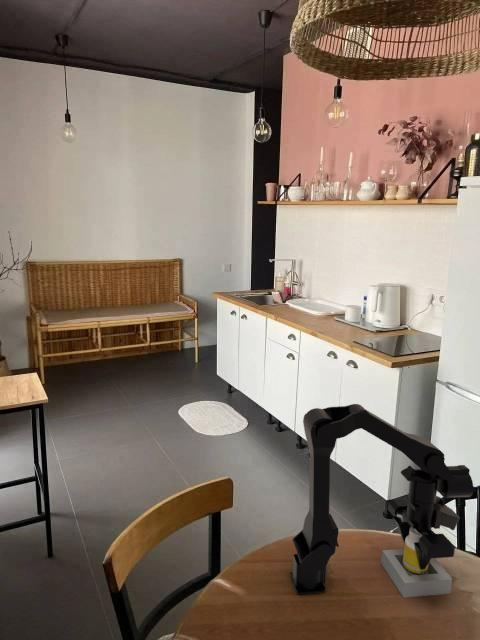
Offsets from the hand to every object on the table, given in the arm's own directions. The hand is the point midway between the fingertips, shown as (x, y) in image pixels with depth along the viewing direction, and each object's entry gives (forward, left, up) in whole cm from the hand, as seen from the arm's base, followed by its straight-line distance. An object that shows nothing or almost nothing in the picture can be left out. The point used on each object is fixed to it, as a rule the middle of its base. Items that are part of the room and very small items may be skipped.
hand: (415, 560), depth 106 cm
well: (0, 0, -5) cm, 5 cm away
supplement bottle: (0, 0, -3) cm, 3 cm away
